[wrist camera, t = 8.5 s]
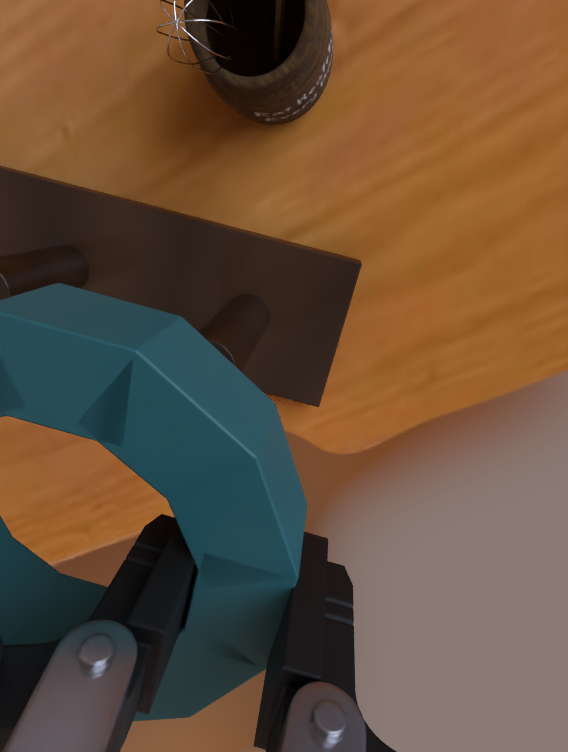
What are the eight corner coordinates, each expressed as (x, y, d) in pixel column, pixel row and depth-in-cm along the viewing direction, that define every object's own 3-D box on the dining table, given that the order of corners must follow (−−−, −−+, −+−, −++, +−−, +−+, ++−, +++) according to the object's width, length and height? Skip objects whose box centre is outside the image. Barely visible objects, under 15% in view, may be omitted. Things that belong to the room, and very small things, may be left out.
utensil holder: (195, 70, 24) (67, -38, 13) (274, -49, 22) (202, -302, 11) (279, 153, 25) (226, 119, 14) (363, 48, 23) (381, -93, 12)
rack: (-3, 310, 30) (-165, 364, 21) (-3, 164, 27) (-199, 146, 17) (319, 397, 30) (308, 494, 20) (360, 260, 26) (371, 297, 17)
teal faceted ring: (-78, 580, 14) (-158, 653, 12) (-107, 236, 10) (-235, 247, 8) (250, 676, 14) (232, 769, 12) (353, 362, 10) (355, 411, 8)
